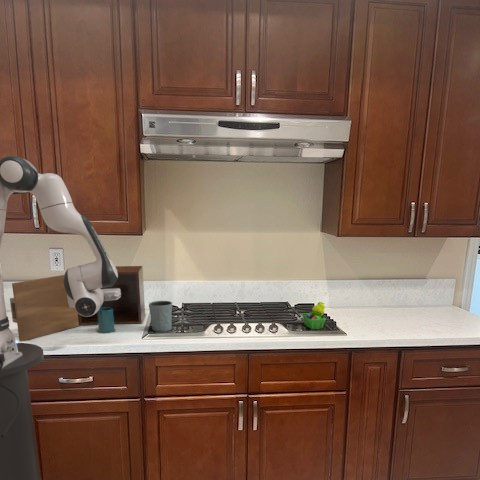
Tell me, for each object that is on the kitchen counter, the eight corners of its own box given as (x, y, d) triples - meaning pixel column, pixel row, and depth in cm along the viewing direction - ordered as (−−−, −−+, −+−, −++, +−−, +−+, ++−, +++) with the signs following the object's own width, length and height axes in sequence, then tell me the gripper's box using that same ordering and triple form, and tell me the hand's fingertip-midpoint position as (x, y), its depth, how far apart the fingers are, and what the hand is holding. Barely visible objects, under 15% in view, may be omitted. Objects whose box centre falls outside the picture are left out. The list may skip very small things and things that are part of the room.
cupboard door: (11, 338, 193) (3, 281, 187) (69, 323, 216) (64, 272, 210) (20, 341, 190) (13, 283, 183) (79, 325, 212) (74, 273, 206)
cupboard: (141, 323, 216) (138, 271, 210) (78, 325, 213) (73, 272, 207) (145, 314, 233) (142, 265, 227) (87, 315, 231) (82, 266, 224)
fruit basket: (300, 324, 216) (301, 300, 213) (318, 322, 218) (319, 299, 215) (310, 330, 205) (311, 305, 202) (328, 329, 207) (330, 304, 204)
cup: (113, 332, 202) (111, 310, 200) (97, 333, 202) (95, 310, 199) (115, 328, 209) (114, 306, 206) (100, 328, 208) (98, 307, 205)
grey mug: (177, 329, 208) (176, 302, 205) (159, 333, 201) (158, 306, 197) (163, 324, 214) (161, 299, 211) (145, 329, 207) (143, 303, 204)
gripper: (119, 288, 177) (121, 282, 190) (63, 291, 173) (69, 285, 187) (120, 304, 178) (123, 297, 191) (65, 308, 175) (71, 300, 188)
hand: (96, 291), depth 189 cm, fingers open, 8 cm apart
